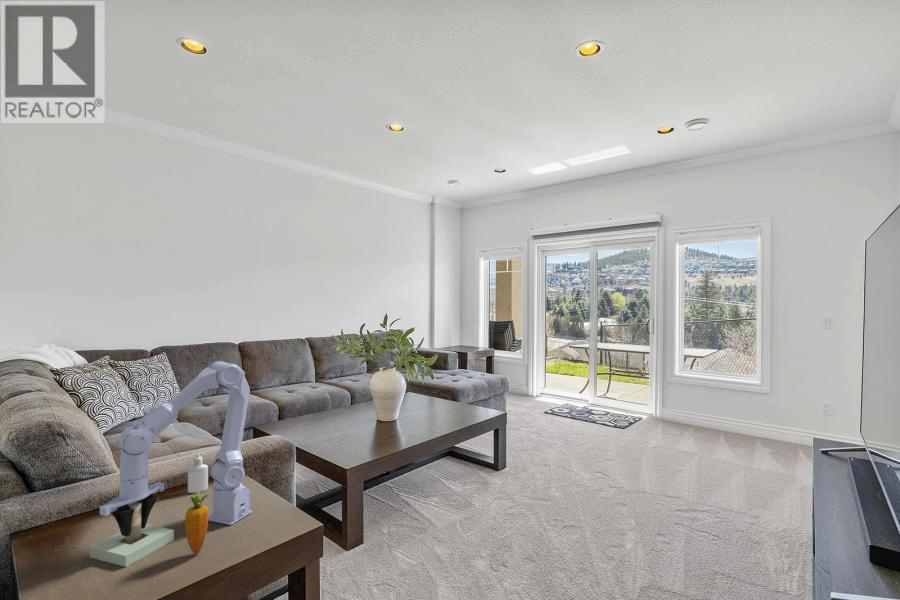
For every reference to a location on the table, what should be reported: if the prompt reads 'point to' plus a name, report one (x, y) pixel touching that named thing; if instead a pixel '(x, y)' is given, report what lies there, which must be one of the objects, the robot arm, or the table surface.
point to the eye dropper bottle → (198, 476)
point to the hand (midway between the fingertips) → (133, 531)
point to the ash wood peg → (135, 523)
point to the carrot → (196, 523)
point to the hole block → (131, 546)
